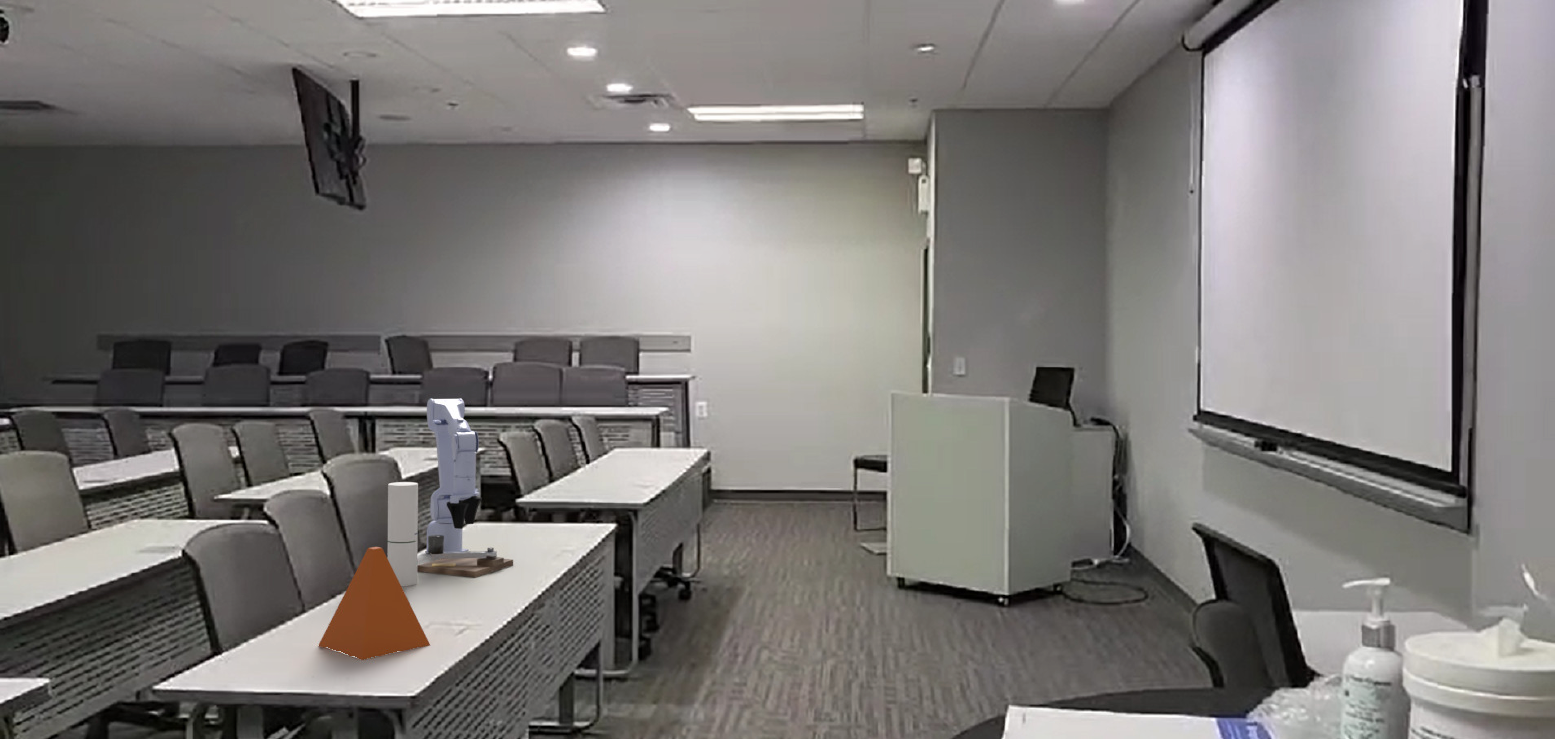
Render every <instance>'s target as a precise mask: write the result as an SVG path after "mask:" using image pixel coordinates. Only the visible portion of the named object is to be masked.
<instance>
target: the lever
mask: <svg viewBox="0 0 1555 739" xmlns="http://www.w3.org/2000/svg"><path fill="white" fill-rule="evenodd" d="M494 549H495V548H494V547H487V550H474V551H471V550H470V551H462V552H444V536H443V535H430V536H428V553H427V554H430V555H431V560H438V559H458V558H496V557H498V556H497V554H498V553H497V550H494Z"/></svg>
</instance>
